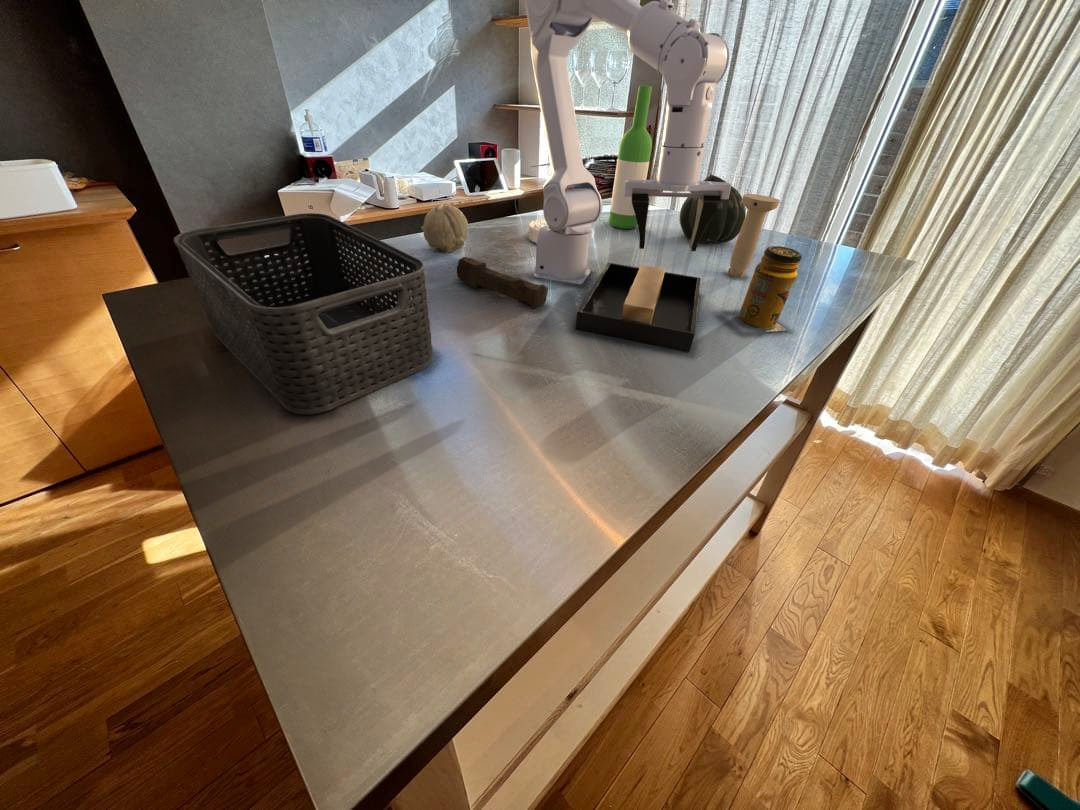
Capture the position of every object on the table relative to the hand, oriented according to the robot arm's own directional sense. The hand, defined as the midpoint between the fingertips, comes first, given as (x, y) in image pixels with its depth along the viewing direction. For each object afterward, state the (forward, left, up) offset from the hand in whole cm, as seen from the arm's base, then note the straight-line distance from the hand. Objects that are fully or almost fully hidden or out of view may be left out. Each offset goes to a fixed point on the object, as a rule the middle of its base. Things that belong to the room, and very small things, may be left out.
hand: (666, 248), depth 68 cm
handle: (+14, +26, -11) cm, 31 cm away
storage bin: (-41, -30, -11) cm, 52 cm away
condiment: (+16, +4, -11) cm, 20 cm away
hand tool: (-27, -4, -11) cm, 29 cm away
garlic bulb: (-46, +13, -11) cm, 49 cm away
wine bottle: (-14, +51, -11) cm, 54 cm away
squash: (+7, +49, -11) cm, 51 cm away
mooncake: (-27, +31, -11) cm, 42 cm away
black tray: (-2, 0, -11) cm, 11 cm away
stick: (-2, 0, -11) cm, 11 cm away
